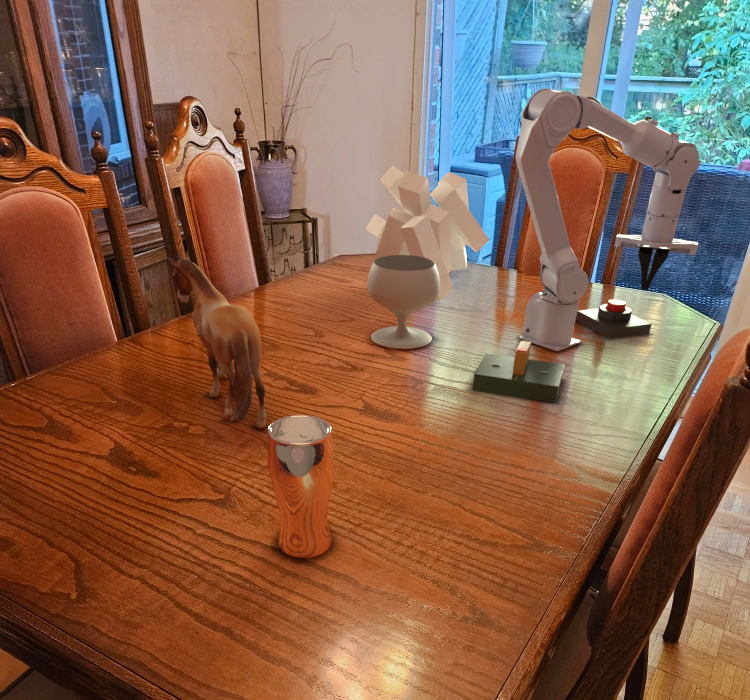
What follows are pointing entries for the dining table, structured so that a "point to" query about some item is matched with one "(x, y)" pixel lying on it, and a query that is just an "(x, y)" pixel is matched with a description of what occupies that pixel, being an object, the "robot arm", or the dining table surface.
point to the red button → (616, 305)
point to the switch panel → (518, 378)
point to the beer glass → (302, 482)
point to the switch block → (613, 322)
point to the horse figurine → (224, 340)
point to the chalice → (403, 296)
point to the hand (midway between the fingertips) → (644, 288)
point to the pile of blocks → (428, 223)
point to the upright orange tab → (521, 358)
